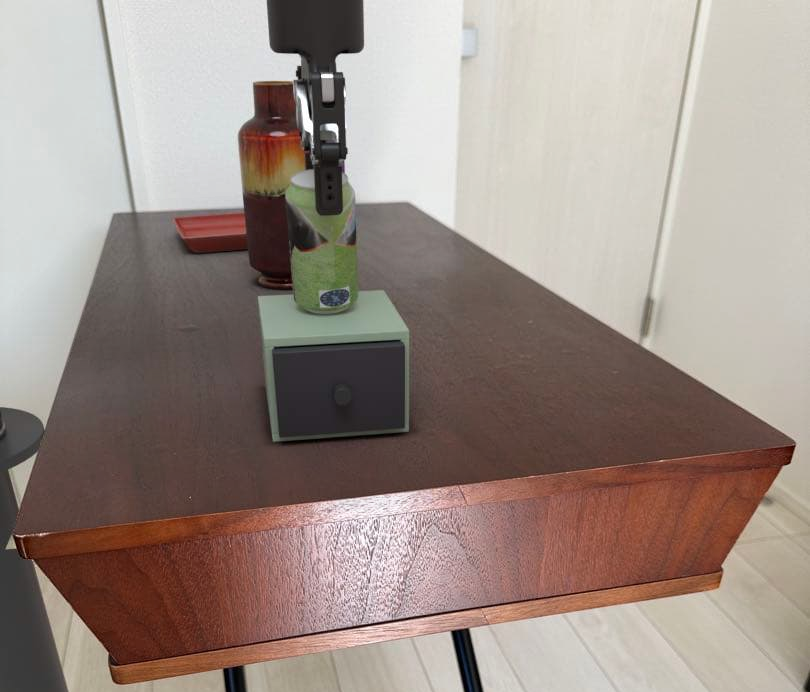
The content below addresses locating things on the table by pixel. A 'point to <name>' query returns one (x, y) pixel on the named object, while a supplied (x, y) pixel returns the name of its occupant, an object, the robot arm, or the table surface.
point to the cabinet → (328, 339)
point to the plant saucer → (213, 232)
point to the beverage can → (321, 248)
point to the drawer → (339, 387)
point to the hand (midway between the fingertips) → (324, 205)
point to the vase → (269, 179)
